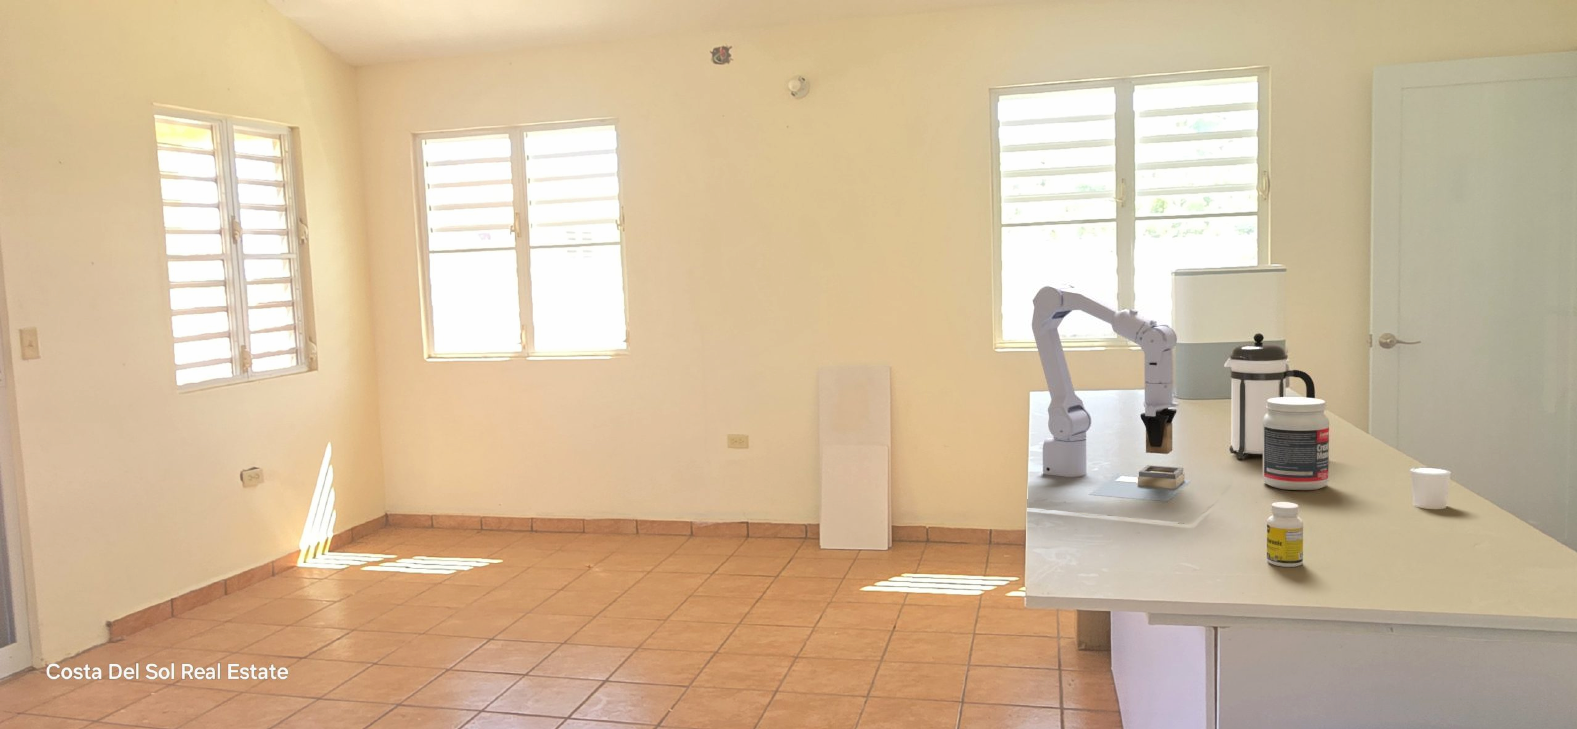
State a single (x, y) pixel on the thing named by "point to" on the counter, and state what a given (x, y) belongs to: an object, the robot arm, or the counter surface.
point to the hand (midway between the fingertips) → (1158, 444)
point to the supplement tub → (1295, 443)
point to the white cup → (1430, 487)
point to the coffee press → (1257, 391)
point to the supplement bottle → (1285, 536)
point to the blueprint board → (1135, 490)
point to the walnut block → (1166, 442)
